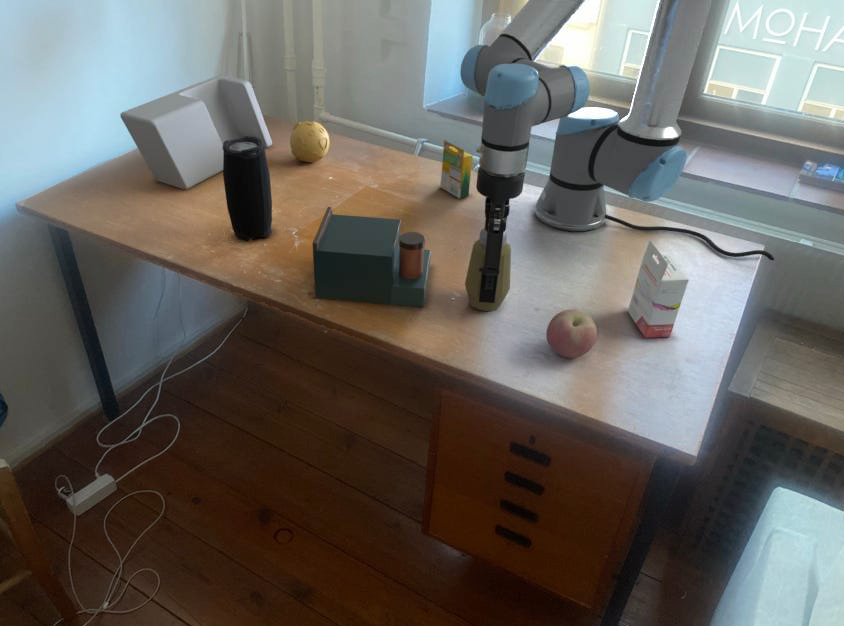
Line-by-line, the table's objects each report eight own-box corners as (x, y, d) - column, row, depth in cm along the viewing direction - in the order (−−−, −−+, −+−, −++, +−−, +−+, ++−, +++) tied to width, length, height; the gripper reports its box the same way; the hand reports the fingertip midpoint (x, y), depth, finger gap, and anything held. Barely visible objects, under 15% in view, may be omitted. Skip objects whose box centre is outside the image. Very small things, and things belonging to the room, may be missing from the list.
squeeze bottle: (505, 318, 126) (519, 227, 115) (460, 312, 128) (469, 222, 116) (508, 293, 132) (521, 205, 121) (465, 288, 134) (474, 200, 122)
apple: (538, 361, 117) (546, 321, 112) (547, 335, 122) (555, 297, 117) (587, 373, 115) (597, 333, 110) (594, 346, 120) (604, 307, 115)
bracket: (204, 224, 173) (152, 122, 149) (173, 213, 177) (117, 113, 153) (274, 144, 186) (235, 39, 162) (243, 136, 190) (201, 32, 166)
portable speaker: (223, 238, 147) (210, 146, 135) (249, 219, 154) (239, 131, 142) (257, 247, 144) (246, 155, 132) (282, 228, 151) (275, 138, 139)
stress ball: (291, 153, 183) (288, 114, 176) (329, 152, 183) (327, 113, 177) (291, 169, 175) (288, 129, 169) (331, 168, 176) (329, 128, 170)
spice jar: (424, 267, 132) (426, 232, 127) (422, 280, 128) (424, 245, 124) (399, 265, 132) (400, 230, 128) (396, 278, 129) (397, 243, 124)
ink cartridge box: (671, 337, 123) (696, 264, 113) (643, 338, 122) (666, 265, 113) (652, 309, 129) (674, 238, 120) (626, 310, 129) (646, 238, 120)
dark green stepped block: (429, 267, 140) (433, 214, 132) (423, 307, 129) (426, 251, 122) (329, 259, 141) (327, 206, 134) (315, 297, 131) (312, 242, 123)
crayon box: (469, 196, 165) (474, 147, 158) (459, 199, 163) (463, 150, 156) (449, 184, 169) (453, 137, 162) (440, 187, 168) (443, 139, 161)
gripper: (479, 142, 122) (468, 256, 136) (476, 195, 106) (463, 319, 120) (523, 144, 121) (507, 260, 136) (526, 198, 105) (508, 323, 120)
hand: (487, 287), depth 128 cm, fingers closed on squeeze bottle, 8 cm apart
